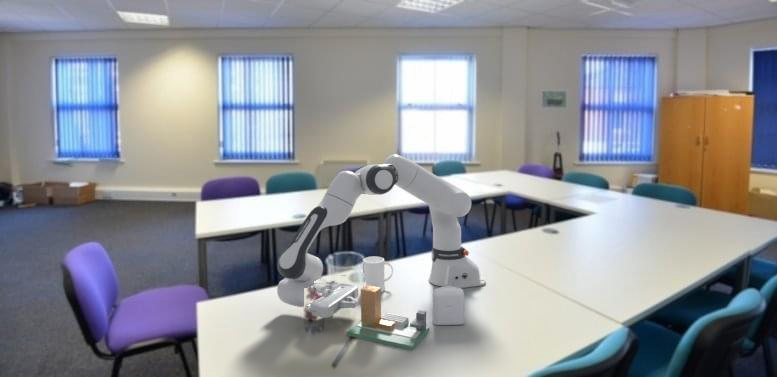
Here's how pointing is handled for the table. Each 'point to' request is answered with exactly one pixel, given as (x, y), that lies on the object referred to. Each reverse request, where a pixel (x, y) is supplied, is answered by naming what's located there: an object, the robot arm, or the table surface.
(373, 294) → the tall wooden block
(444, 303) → the photo printer
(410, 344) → the board
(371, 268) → the mug
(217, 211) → the table surface
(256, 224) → the table surface
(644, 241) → the table surface
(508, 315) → the table surface
